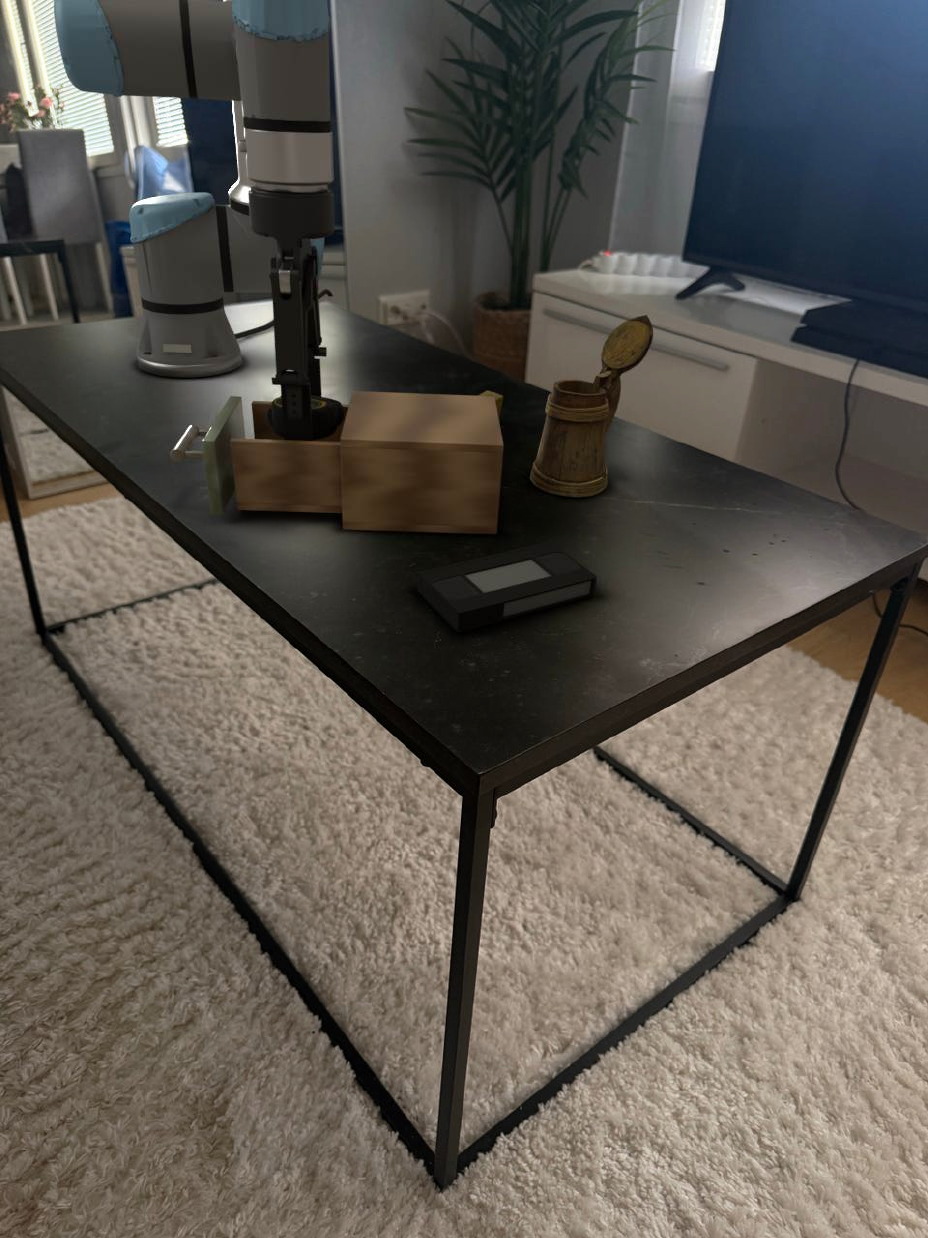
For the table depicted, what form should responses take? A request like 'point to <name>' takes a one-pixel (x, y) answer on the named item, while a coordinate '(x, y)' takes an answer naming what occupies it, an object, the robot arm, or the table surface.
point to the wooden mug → (587, 417)
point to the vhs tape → (505, 585)
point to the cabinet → (421, 463)
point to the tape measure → (323, 416)
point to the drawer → (265, 464)
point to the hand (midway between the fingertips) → (304, 432)
